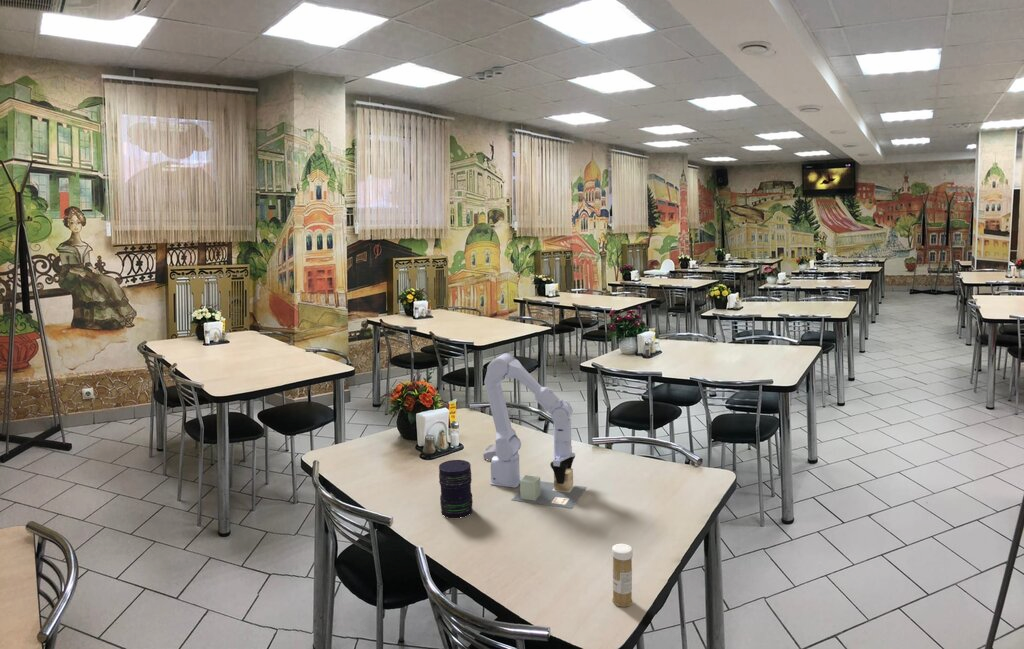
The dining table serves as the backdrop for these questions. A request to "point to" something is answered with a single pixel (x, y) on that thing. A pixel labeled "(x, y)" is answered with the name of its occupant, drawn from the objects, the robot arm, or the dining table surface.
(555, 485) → the maple block
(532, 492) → the sage block
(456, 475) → the storage jar
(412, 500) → the dining table surface
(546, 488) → the slate mat
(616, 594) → the sprinkles bottle
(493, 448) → the stone block
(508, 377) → the robot arm
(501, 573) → the dining table surface
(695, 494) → the dining table surface
